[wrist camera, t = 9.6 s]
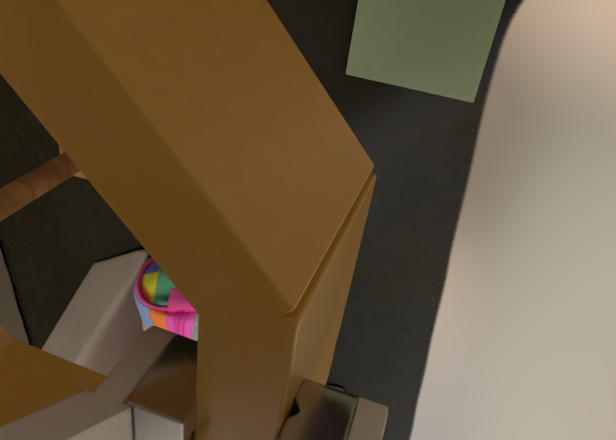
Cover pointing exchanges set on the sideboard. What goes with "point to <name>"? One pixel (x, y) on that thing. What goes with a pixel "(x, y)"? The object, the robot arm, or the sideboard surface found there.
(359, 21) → the sage mat
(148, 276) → the pencil case
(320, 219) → the brass ring
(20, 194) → the hanger post
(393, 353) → the sideboard surface
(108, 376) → the robot arm
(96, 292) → the grey wedge
